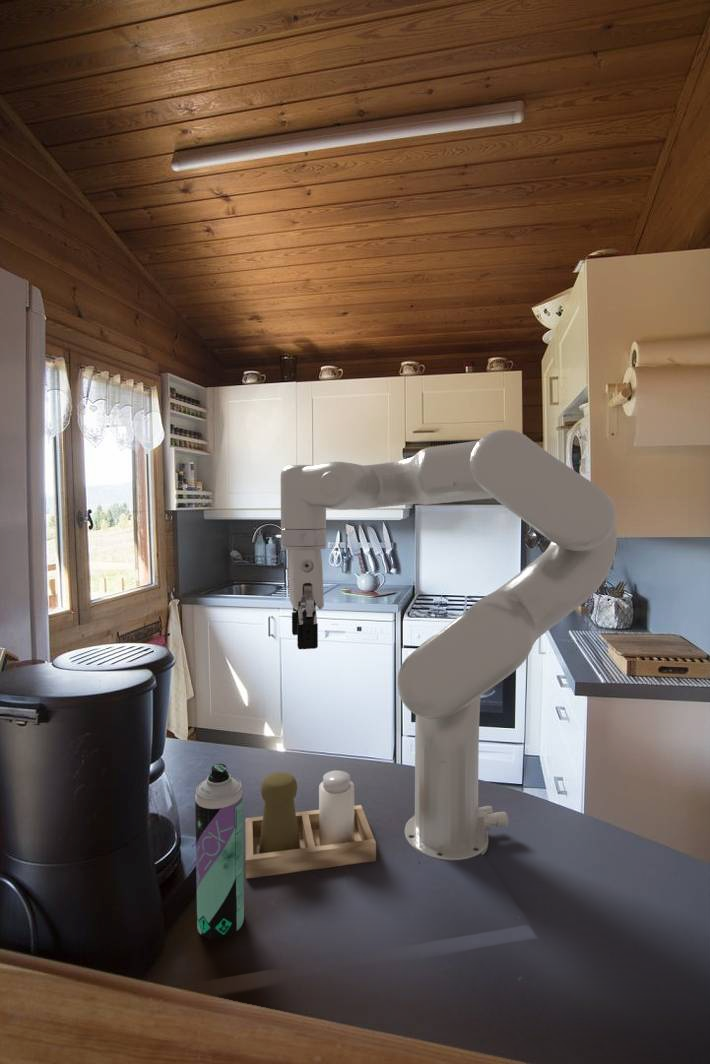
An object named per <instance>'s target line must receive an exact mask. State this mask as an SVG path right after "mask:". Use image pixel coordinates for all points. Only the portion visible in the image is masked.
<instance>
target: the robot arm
mask: <svg viewBox="0 0 710 1064" xmlns="http://www.w3.org/2000/svg"><path fill="white" fill-rule="evenodd" d="M487 499H495V500H496V501H497V502H498V503H500V504H501V505H502V506H504V508H506V509H507V510H509V511H510V512H511V513H513V514H514V515H516V516H517V517H518V518H519V519H521V520H522V521H524V522H525V523H526V524H527V525H528V526H530V527H531V528H533V529H534V530H536V532H538V533H539V534H541V535H542V536H543V537H545V538H546V539H547V540H548V541H550V543H549V545H548V547H547V548H546V550H545V551H544V552H543V553H542V554H540V555H539V556H538V557H536V559H534V560H533V561H532V562H530V563H529V564H528V565H527V566H526V567H524V568H523V569H522V570H521V571H520V572H519V573H517V574H516V575H515V576H514V577H513V578H511V579H510V580H509V581H507V582H506V583H504V584H503V585H501V586H500V587H498V589H496V590H495V591H493V592H491V593H489V594H487V595H485V596H484V597H481V598H480V599H479V600H477V601H476V602H475V603H473V605H472V606H470V607H469V608H467V609H466V610H465V611H464V612H463V613H462V614H461V615H460V616H458V617H457V618H456V619H454V620H453V621H452V622H451V623H449V624H448V625H447V626H445V627H444V628H443V629H441V630H440V631H438V633H436V634H434V635H432V636H431V637H429V638H428V639H426V640H425V641H424V642H423V643H422V644H420V645H419V646H418V647H417V648H416V649H415V650H413V651H412V652H411V653H410V654H409V655H408V656H407V657H406V658H405V659H404V661H403V662H402V664H401V665H400V668H399V671H398V674H397V682H396V685H397V691H398V694H399V697H400V700H401V702H402V703H403V704H404V706H405V708H407V710H408V711H410V712H411V713H412V714H414V715H415V727H414V729H415V730H414V731H415V732H414V733H415V734H414V736H415V737H414V742H415V744H414V815H412V816H411V817H410V818H409V820H408V821H407V822H406V824H405V826H404V836H405V839H406V840H407V842H408V844H409V845H410V846H411V847H413V848H414V849H415V850H416V851H418V852H420V853H421V854H423V855H425V856H428V857H431V858H433V859H438V860H444V861H462V860H467V859H468V860H469V859H471V858H474V857H476V856H479V855H480V854H481V855H482V856H484V855H485V853H486V852H487V850H488V849H489V834H488V831H490V829H491V827H492V828H493V827H496V828H497V827H504V826H509V822H510V821H509V816H508V814H507V813H506V811H498V812H494V810H493V807H492V806H491V805H485V806H484V805H483V806H479V758H480V757H479V754H480V752H479V749H480V748H479V746H480V711H481V710H480V709H481V696H482V695H483V694H485V693H486V692H488V691H489V690H491V689H492V688H494V687H495V686H496V685H498V684H499V683H501V682H502V681H504V679H507V678H508V677H509V676H510V675H512V674H513V673H514V672H515V671H516V670H517V669H519V667H520V666H521V665H523V664H524V662H525V661H526V660H527V658H528V657H529V655H530V654H531V652H532V648H533V646H534V645H535V643H536V641H537V640H538V639H539V638H541V637H542V636H543V635H544V634H545V633H547V632H548V631H549V630H551V629H552V628H553V627H555V626H556V625H557V624H558V623H560V622H561V621H562V620H564V619H565V618H566V617H568V616H569V615H570V614H571V613H572V612H574V611H575V610H576V609H578V608H579V607H580V606H582V605H583V604H584V603H585V602H586V601H587V600H588V599H589V598H591V597H592V596H593V595H594V594H595V592H597V591H598V589H599V588H600V587H601V586H602V584H603V583H604V581H605V580H606V578H607V577H608V575H609V574H610V571H611V568H612V566H613V563H614V559H615V556H616V553H617V552H616V551H617V547H618V546H617V542H618V537H617V536H618V535H617V525H616V521H617V512H616V508H615V504H614V502H613V500H612V498H611V497H610V496H609V495H608V494H607V493H606V491H605V490H603V489H602V488H601V487H599V486H598V485H596V484H595V483H593V482H592V481H591V480H589V479H587V478H586V477H584V476H583V475H582V474H580V473H579V472H577V471H576V470H574V469H573V468H571V467H570V466H568V465H567V464H566V463H564V462H563V461H561V460H559V459H558V458H556V457H555V456H553V455H552V454H551V453H549V452H548V451H546V449H544V448H543V447H541V446H540V445H538V444H537V443H536V442H535V441H533V440H532V439H531V438H529V437H528V436H527V435H525V434H524V433H522V432H520V431H516V430H513V429H498V430H495V431H494V430H493V431H491V432H490V433H487V434H486V435H484V436H483V437H481V438H480V439H479V440H473V441H468V442H467V441H465V442H458V443H452V444H445V445H436V446H429V447H426V448H423V449H420V450H419V451H417V453H416V454H415V455H413V456H412V457H408V458H405V459H402V460H397V461H391V462H384V463H375V464H367V465H364V464H363V465H361V464H356V463H352V462H345V461H331V462H330V461H329V462H325V463H320V464H316V465H313V464H295V465H294V464H293V465H287V466H285V467H284V468H282V470H281V472H280V548H281V550H288V551H287V555H288V559H287V561H288V562H287V563H288V565H287V566H288V592H289V600H290V603H291V606H292V612H291V633H292V635H293V636H296V637H297V640H296V641H297V643H296V644H297V649H298V650H313V649H315V650H316V649H317V648H318V647H319V643H318V642H319V639H318V638H319V635H318V634H319V631H318V630H319V628H318V627H319V626H318V625H319V623H318V619H317V618H318V616H317V615H318V614H317V609H318V610H322V609H324V606H325V603H324V602H325V601H324V599H325V598H324V575H323V574H324V573H323V558H322V551H321V550H326V549H327V509H330V510H340V511H341V510H343V511H345V510H368V509H369V510H371V509H378V508H387V507H395V506H396V507H398V506H407V505H423V506H425V505H426V506H427V505H435V504H436V505H437V504H444V503H445V504H446V503H454V502H465V501H474V500H477V501H478V500H487ZM475 849H476V850H475ZM438 854H439V855H438ZM440 854H441V855H440Z"/></svg>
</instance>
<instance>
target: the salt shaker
mask: <svg viewBox="0 0 710 1064" xmlns="http://www.w3.org/2000/svg"><path fill="white" fill-rule="evenodd" d="M354 806H355V783H354V782H353V781H351V775H350V774H349V773H348V772H346V771H342V770H331V771H328V772H326V773H325V774H324V775H323V776H322V782H320V784H319V786H318V810H319V845H320V846H324V845H331V844H339V843H347V842H354Z"/></svg>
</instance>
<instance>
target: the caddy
mask: <svg viewBox="0 0 710 1064" xmlns="http://www.w3.org/2000/svg"><path fill="white" fill-rule="evenodd" d="M295 813H296V820H297V827H298V834H299V841H300V849H293V850H285V851H277V852H269V853H262V854H259V845H260V837H261V829H262V821H263V815H259V816H254V817H245V879H253V878H254V879H255V878H261V877H266V876H267V877H268V876H275V875H282V874H290V873H298V872H304V871H311V870H320V869H325V868H331V867H332V868H333V867H341V866H347V865H348V866H349V865H355V864H362V863H363V864H364V863H371V862H376V861H377V841H376V839H375V837H374V835H373V832H372V829H371V826H370V824H369V822H368V819H367V817H366V813H365V811H364V809H363V806H362V805H361V804H359V805H358V804H357V805H355V804H354V842H347V843H339V844H331V845H324V846H320V845H319V809H314V810H307V811H295Z"/></svg>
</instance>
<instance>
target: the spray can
mask: <svg viewBox="0 0 710 1064" xmlns="http://www.w3.org/2000/svg"><path fill="white" fill-rule="evenodd" d="M242 785H243V784H242V781H241V780H240V779H239V778H237V777H236V776H235V777H234V776H232V775H231V773H229V772H228V771H227V766H226V764H223V763H217V764H214V765H212V766H211V773H210V774H209V775H208V776H207V777H206V779H205V780H202V781H201V782H200V783H199V784H198V785H197V786H196V788H195V795H194V797H195V798H194V800H195V801H194V806H195V807H194V808H195V809H194V810H195V811H194V812H195V860H196V861H195V865H196V867H195V869H196V871H195V872H196V874H195V875H196V918H197V919H196V925H197V926H196V928H197V932H198V933H199V935H200V936H202V937H203V938H205V939H209V940H222V939H225V938H226V939H227V938H228V937H231V936H233V935H234V934H235V933H237V932H238V931H239V930H240V929H241V927H242V925H243V924H244V920H245V898H244V897H245V890H244V889H245V887H244V886H245V884H244V882H245V881H244V876H245V875H244V823H243V822H244V820H243V819H244V817H243V816H244V814H243V813H244V808H243V806H244V804H243V803H244V802H243V801H244V800H243V796H244V795H243V788H242Z"/></svg>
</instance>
